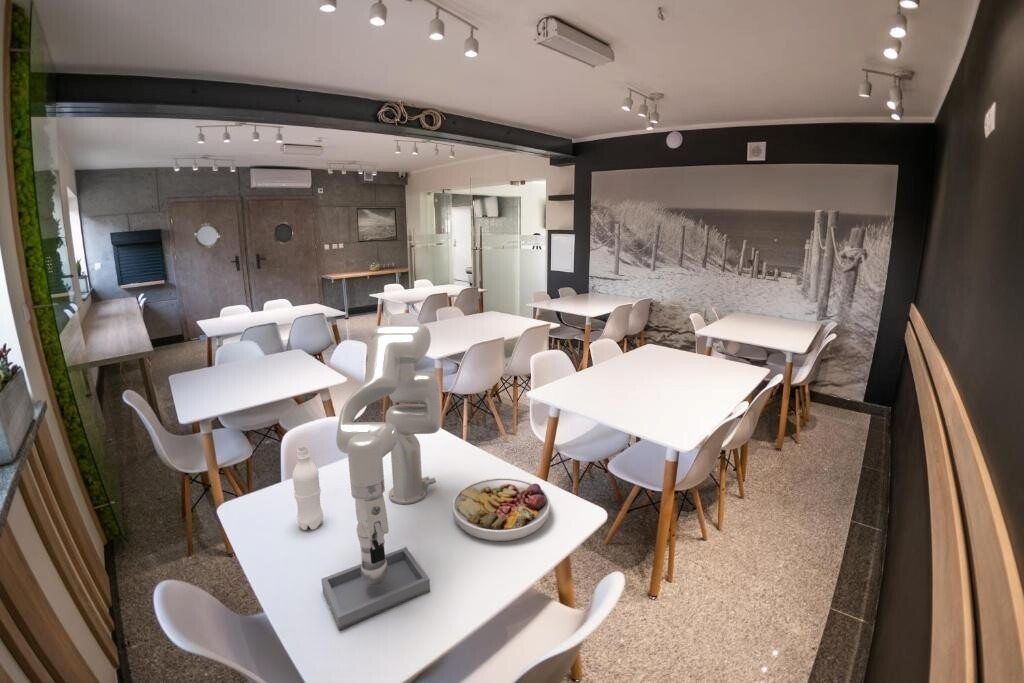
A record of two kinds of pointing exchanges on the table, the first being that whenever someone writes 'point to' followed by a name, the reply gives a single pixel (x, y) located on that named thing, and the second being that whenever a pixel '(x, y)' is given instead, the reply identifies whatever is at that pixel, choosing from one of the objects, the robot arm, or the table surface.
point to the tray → (374, 589)
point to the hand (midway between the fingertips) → (373, 552)
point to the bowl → (501, 509)
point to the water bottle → (307, 491)
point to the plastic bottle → (369, 571)
